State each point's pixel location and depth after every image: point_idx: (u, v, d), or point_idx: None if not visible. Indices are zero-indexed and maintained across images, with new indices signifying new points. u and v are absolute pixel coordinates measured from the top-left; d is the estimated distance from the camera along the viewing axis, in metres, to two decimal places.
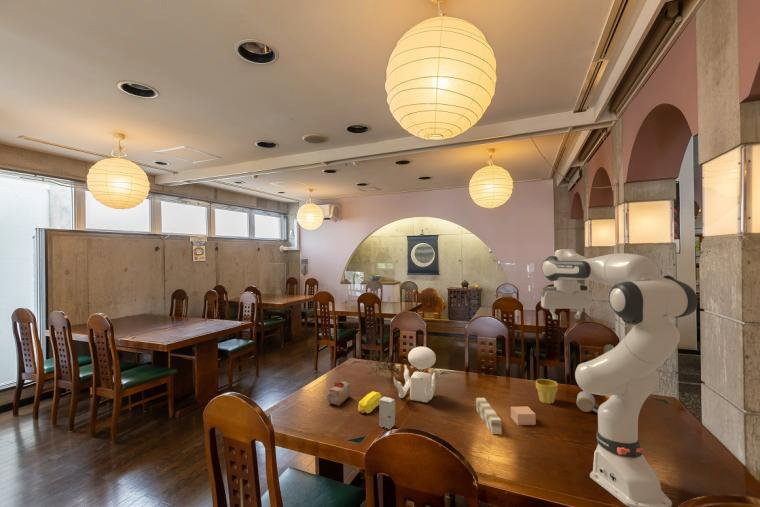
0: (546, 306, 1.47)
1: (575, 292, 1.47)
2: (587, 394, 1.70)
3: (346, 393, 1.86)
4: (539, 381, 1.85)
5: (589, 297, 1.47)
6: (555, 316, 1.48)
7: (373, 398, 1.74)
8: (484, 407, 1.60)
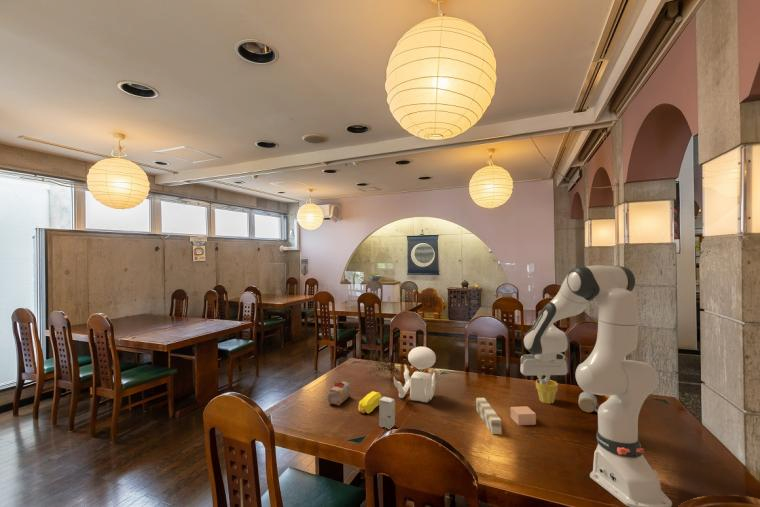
0: (525, 373, 1.58)
1: (552, 360, 1.58)
2: (589, 394, 1.70)
3: (346, 393, 1.86)
4: (539, 381, 1.85)
5: (565, 365, 1.58)
6: (542, 382, 1.59)
7: (373, 398, 1.74)
8: (484, 407, 1.60)
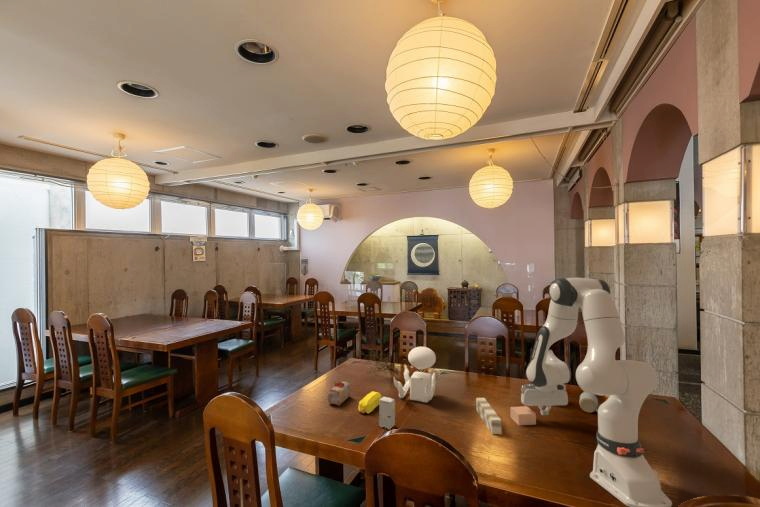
0: (525, 403, 1.58)
1: (552, 390, 1.58)
2: (590, 395, 1.69)
3: (347, 393, 1.86)
4: None
5: (565, 395, 1.57)
6: (543, 412, 1.59)
7: (373, 398, 1.74)
8: (484, 407, 1.60)
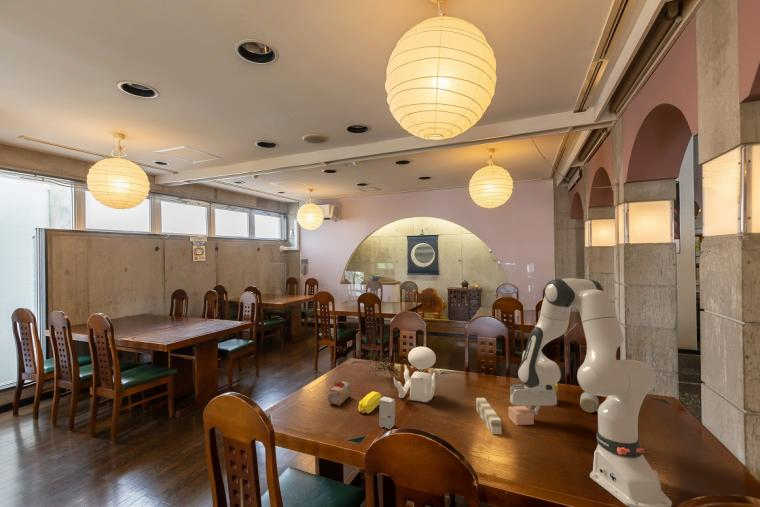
0: (514, 403, 1.58)
1: (541, 391, 1.58)
2: (590, 395, 1.69)
3: (347, 393, 1.86)
4: None
5: (554, 395, 1.58)
6: None
7: (373, 398, 1.74)
8: (484, 407, 1.60)
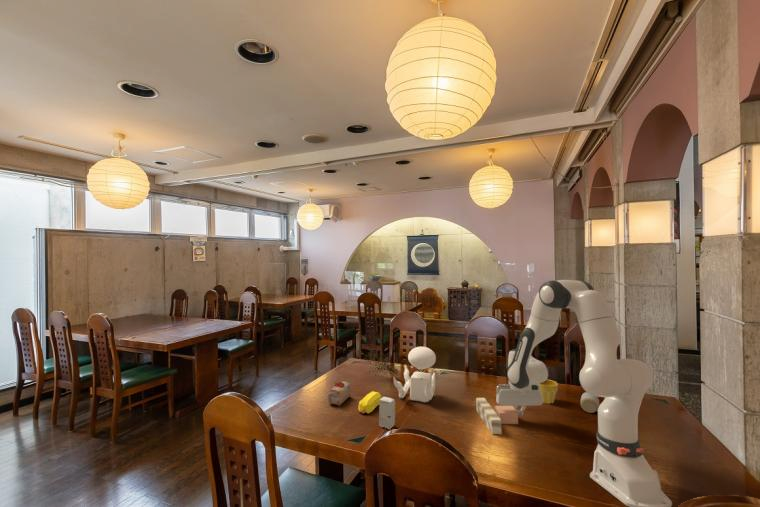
0: (500, 403, 1.58)
1: (527, 391, 1.58)
2: (591, 395, 1.69)
3: (347, 393, 1.86)
4: None
5: (540, 395, 1.58)
6: (517, 412, 1.59)
7: (373, 398, 1.74)
8: (484, 407, 1.60)
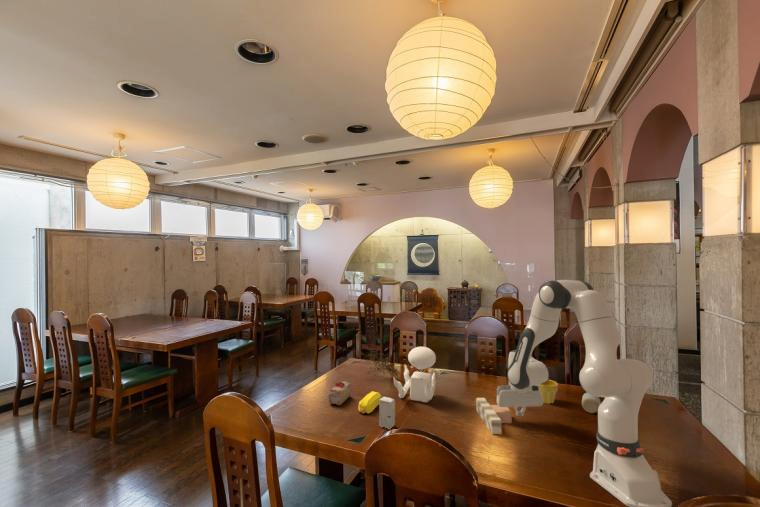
0: (500, 405, 1.58)
1: (527, 391, 1.57)
2: None
3: (347, 393, 1.86)
4: None
5: (540, 396, 1.57)
6: (518, 413, 1.58)
7: (373, 398, 1.74)
8: (484, 407, 1.60)
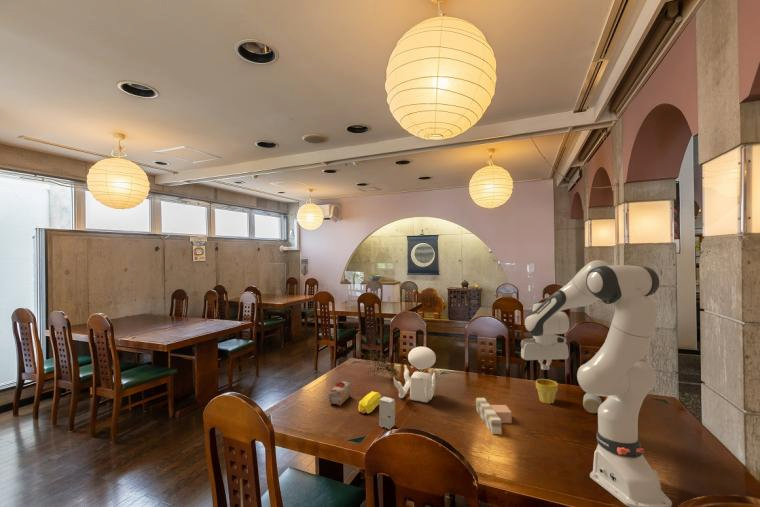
0: (526, 357, 1.55)
1: (553, 344, 1.55)
2: (593, 395, 1.69)
3: (347, 393, 1.86)
4: (539, 381, 1.85)
5: (566, 349, 1.55)
6: (543, 367, 1.55)
7: (373, 398, 1.74)
8: (484, 407, 1.60)
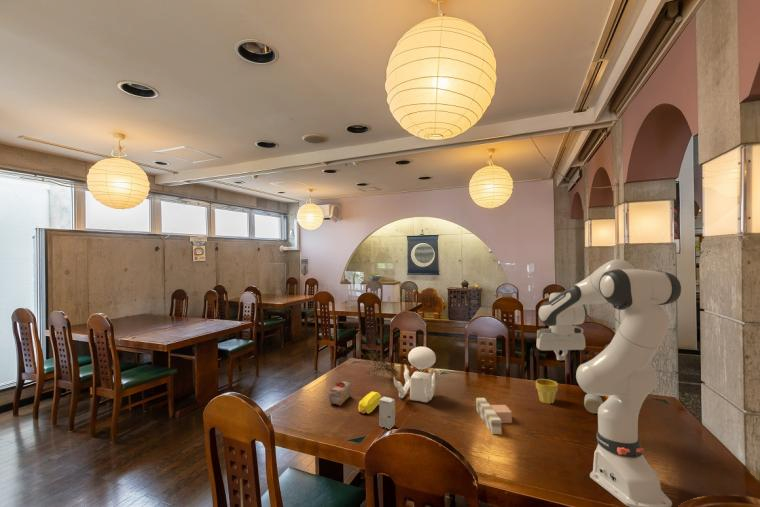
0: (541, 348, 1.52)
1: (569, 334, 1.52)
2: (595, 395, 1.68)
3: (347, 393, 1.86)
4: (539, 381, 1.85)
5: (583, 339, 1.52)
6: (559, 357, 1.53)
7: (373, 398, 1.74)
8: (484, 407, 1.60)
